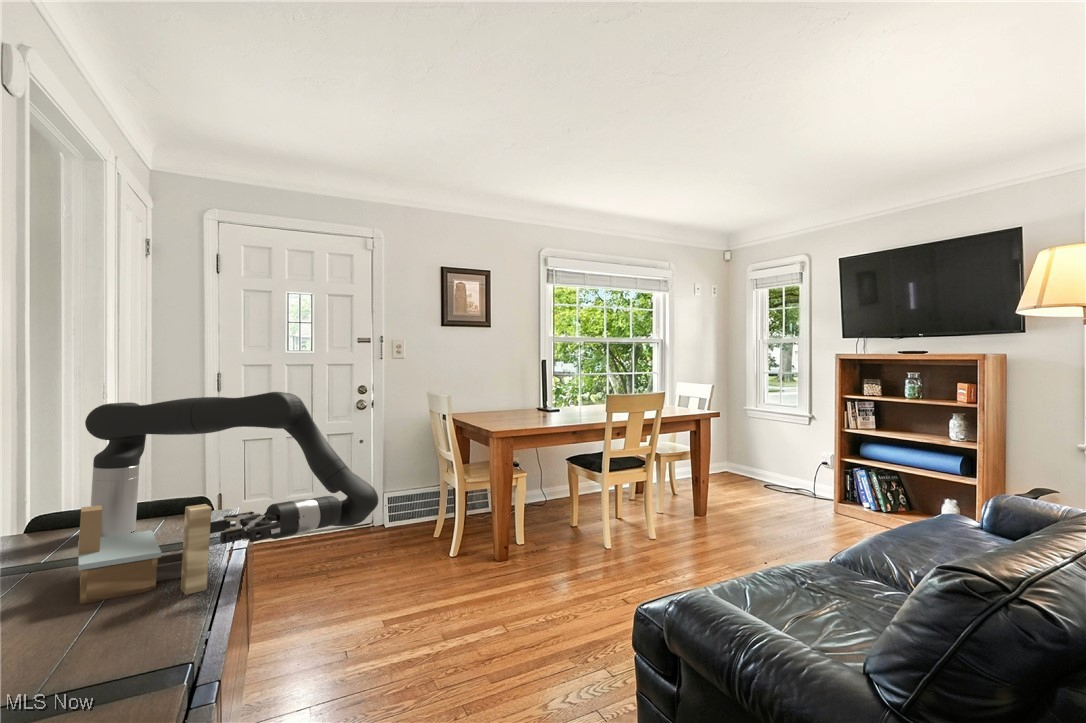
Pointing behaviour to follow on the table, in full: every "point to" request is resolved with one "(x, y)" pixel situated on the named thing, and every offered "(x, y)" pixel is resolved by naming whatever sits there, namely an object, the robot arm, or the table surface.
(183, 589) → the wooden block
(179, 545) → the table surface
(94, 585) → the wooden box
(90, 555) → the lid
